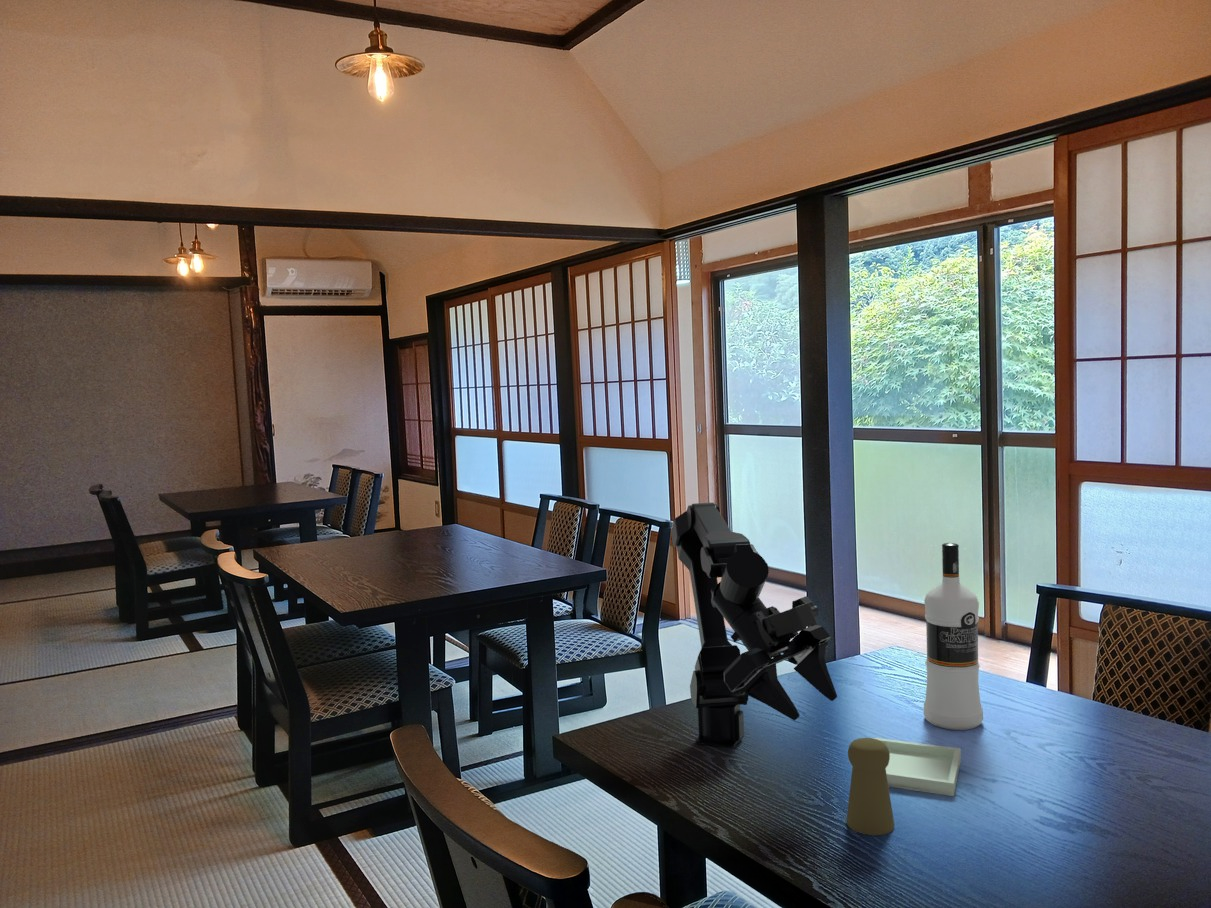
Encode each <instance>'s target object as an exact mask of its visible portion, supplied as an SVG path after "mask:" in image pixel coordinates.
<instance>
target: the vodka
mask: <svg viewBox="0 0 1211 908" xmlns="http://www.w3.org/2000/svg"><path fill="white" fill-rule="evenodd" d="M941 546H942V547H941V556H942V557H941V558H942V559H941V560H942V562H941V563H942V565H941V566H942V582H941V583H939V584H937V585H936V586H935V587H933V588H931V589H930V590H929V591H927V593H926V594H925V597H924V610H925V614H924V619H925V622H926V628H925V629H926V660H925V666H926V689H925V691H926V692H925V699H924V702H923V716H924V718H925V720H926V721H927V722H928V723H930V724H931V725H933V726H935V727H938V728H941V729H945V730H951V731H966V730H972V729H975V728H977V727H979V726H981V724H982V723H983V720H984V709H983V706H982V703H981V696H980V695H981V694H980V683H979V673H980V670H979V669H980V668H981V665H980V663H979V625H978V624H979V620H980V619H979V618H980V617H979V607H980V606H979V605H980V602H979V599H978V596H977V595H976V594H975V593H974V592H973V591H971V589H969V588H968V587H966V586H965V585H963V584H962V583H961V582H960V563H959V561H960V558H959V557H960V555H959V549H960V548H959V547H960V546H959V544H957V543H954V542H945V543H942V544H941Z"/></svg>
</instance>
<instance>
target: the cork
mask: <svg viewBox="0 0 1211 908" xmlns="http://www.w3.org/2000/svg"><path fill="white" fill-rule="evenodd" d="M847 758H848V761H849V763H850V765H851V766H852V769H851V776H850V786H849V795H848V803H847V812H846V821H845V822H846V825H847V827H848V828H849V829H851V830H853V831H854V832H856V833H858V832H859V834H862V833H863V834H862V835H866V834H868V835H867V836H882V835H887V834H889V833H891V832H893V830H894V829H895V820H894V819H895V818H894V815H893V814H894V813H893V808H892V807H893V806H892V802H891V796H890V795H891V794H890V787H888V781H887V775H886V767H887V766H888V764H889V759H890V753H889V749H888V748H887V746H886V745H885V743H883V742H882V741H880V740H877V739H874V737H872V738H871V737H860V738H857V739H854V740H853V741H851V742H850V744H849V745H848V750H847Z"/></svg>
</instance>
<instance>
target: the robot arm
mask: <svg viewBox="0 0 1211 908" xmlns="http://www.w3.org/2000/svg"><path fill="white" fill-rule="evenodd" d="M672 524H673V525H672V526H671V527H672V528H671V540H672V545H673V547H675V548H676V551H677V557H678V560H680V562H681V563H682V564H683V565H684V567H686V568H687V570H689V575H690V576H689V577H690V582H691V588H692V593H693V594H692V595H693V602H694V607H695V613H696V614H695V615H696V621H697V627H698V628H697V629H698V633H699V640H700V646H701V648H700V651H699V652H698V655H697V659H696V661H695V665H694V670H693V671H692V675H691V680H690V684H689V690H690V691H689V692H690V699H691V702H692V704H693V705H694V707H695V709H697V724H698V726H697V727H698V735H697V737H696V738H695V739H694V740H695V741H694V742H695V744H701V745H706V746H714V747H720V748H728V749H733V748H735V747H736V745H738V743H739V742H740V741H741V739H742V738H743V737H744V735H745V725H744V723H745V721H744V720H745V717H744V711H743V710H741V705H743V706H747V705H748V702H749V697H750V698H753V699H754V700H756V701H759V702H761V703H763V704H764V705H766V706H768V707H770V708H772V709H774V710H775V711H777V712H779V713H780V714H782V715H784V716H785V717H788V718H789V719H790V720H792V721H796V720H797V719H799V718H800V713H799V711H798V709H797V708H796V706H795V704H794V702H793V701H792V699H791V697H790V696H789V695H788V693H787V692H786V690H785V688H784V687H783V685H782V683H780V681H779V678H778V672H777V664H779V663H781V662H784V661H786V660H787V661H788V662H789V663H790V664H793V665H794V667H793V670H794V671H795V672H796V673H798V675H800V676H801V677H802V678H803V679H805V681H807V682H808V683H809V684H810V685H811V686H812V687H814V688H815V689H816V690H817V691H818V692H819V693H820V694H821V695H823V696H824V697H825V698H827V699H828V700H829V701H831V702H833V701H835V700H836V699H837V698H838V694H837V691H836V689H835V686H834V683H833V681H832V677H831V674H830V673H829V670H828V665H827V662H826V658H825V657H826V649H827V648H828V647H829V641H828V640H830V639H831V635H830V634H829V633H828V631H827V630H826V629H825V628H824V626H823V625H818V620H817V619H816V618H817V617H818V614H819V607H818V606H817V605H816V604H815V603H814V602H813V601H812V600H811V599H810V598H809V597H808V596H807V595H806V596H803V597H800V598H798V599H795V600H793V601H792V603H791V605H792V606H791V608H790V609H787V610H784V611H782V612H780V610H779V609H778V608H777V607H775V606H770V607H767V606H766V605H765V603H763V601H762V600H761V598H760V595H761V592H762V590H763V589H764V586H765V583H766V581H767V579H768V576H769V569H770V568H769V565H768V563H767V562H766V560H765V559H764V557H762V555H761V554H760V553H759V552H758V551H757V550H756V548H755V545H754V544H751V542H750V539H749V538H747V536H745V535H744V534H743V533H739V532H735V531H731V528H730V527H729V525H728V523H727V522H726V521H725V520H724V518H723V516H722V515H721V513H720V506H719V504H718V503H714V502H697V503H692V504H690V505H689V504H688V505H687V509H686V511H684V512H682V513H681V514H680V515H678V516H677V517H675V518H674V520H673V523H672ZM718 578H721V579H720V581H719V582H718ZM725 621H726V622H727V624H728V625H729V626H730V628H731V629H732V630H733V634H731V635H730V638H731V640H732V641H733V643H736V642H740V641H741V643H742V644H743V646H744V647H745V648H746V650H747V651H745V652H742V653H741V650H740V648H739V647H738V645H737V644H732V643H731V642H730V641H729V640H728V635H727V630H726V622H725Z"/></svg>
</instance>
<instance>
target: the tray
mask: <svg viewBox="0 0 1211 908" xmlns="http://www.w3.org/2000/svg"><path fill="white" fill-rule="evenodd" d="M873 739H877V740H880V741H882V742H883V743H885V745H886V746H887V748H888V749H889V753H890V759H889V764H888V766H887V767H886V775H887V781H888V787H889V788H897V789H901V790H903V789H904V790H908V791H910V790H911V791H917V792H923V793H930V794H936V795H943V796H948V797H949V796H950V797H955V793H956V789H957V788H956V787H957V784H958V777H959V772H960V768H961V761H962V754H961V753H962V751H961V750H962V749H961V748H960V747H953V746H945V745H943V746H942V745H936V744H929V743H920V742H911V741H905V740H895V739H890V738H889V739H888V738H881V737H873Z"/></svg>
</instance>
